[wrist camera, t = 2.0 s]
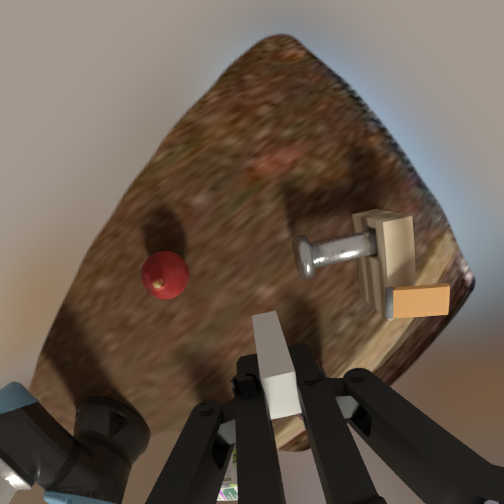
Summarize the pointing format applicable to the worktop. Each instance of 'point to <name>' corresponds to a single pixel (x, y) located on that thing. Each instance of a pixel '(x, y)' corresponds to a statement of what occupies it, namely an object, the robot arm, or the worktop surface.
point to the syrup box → (230, 480)
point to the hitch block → (385, 255)
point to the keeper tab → (417, 301)
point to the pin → (332, 250)
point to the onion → (164, 275)
